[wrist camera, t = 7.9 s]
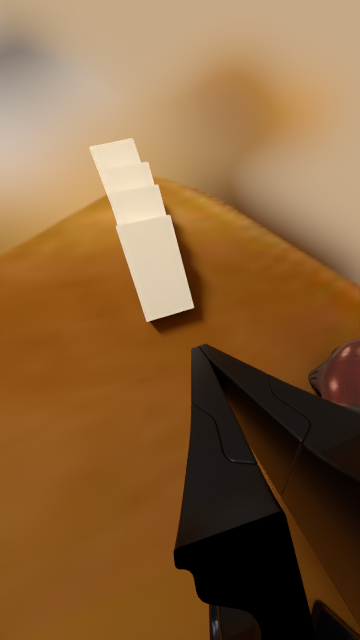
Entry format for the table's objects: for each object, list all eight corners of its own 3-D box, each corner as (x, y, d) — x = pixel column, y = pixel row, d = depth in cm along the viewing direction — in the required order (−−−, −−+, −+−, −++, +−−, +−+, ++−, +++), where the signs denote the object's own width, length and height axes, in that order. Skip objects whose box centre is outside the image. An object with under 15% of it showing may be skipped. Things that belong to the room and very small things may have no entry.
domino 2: (171, 247, 19) (148, 161, 17) (130, 257, 18) (101, 169, 16) (170, 252, 21) (148, 175, 19) (132, 261, 20) (106, 183, 18)
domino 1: (159, 220, 20) (132, 137, 18) (121, 231, 19) (89, 146, 17) (159, 227, 22) (134, 153, 20) (124, 237, 21) (95, 162, 19)
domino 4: (194, 307, 16) (170, 214, 15) (146, 321, 16) (115, 225, 14) (190, 307, 18) (168, 224, 17) (147, 319, 18) (120, 235, 16)
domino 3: (182, 274, 18) (157, 184, 16) (137, 286, 17) (107, 193, 15) (179, 276, 20) (157, 197, 18) (139, 287, 19) (112, 205, 17)
